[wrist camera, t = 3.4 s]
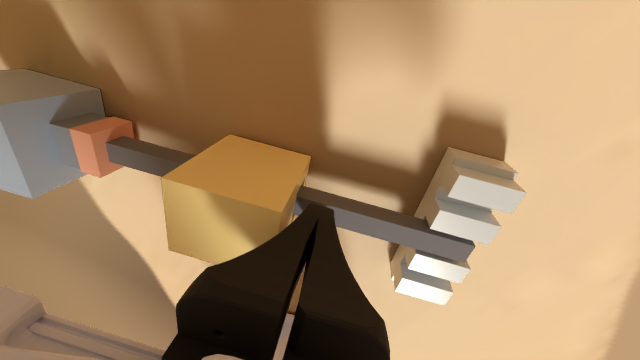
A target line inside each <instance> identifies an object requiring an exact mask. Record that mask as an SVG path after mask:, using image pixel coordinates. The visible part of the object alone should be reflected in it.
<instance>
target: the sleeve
mask: <svg viewBox="0 0 640 360" xmlns="http://www.w3.org/2000/svg"><path fill="white" fill-rule="evenodd" d="M310 160H311V156H308V155H304V154H300V153H297V152H293V151H289V150H286V149H282V148H278V147H275V146H271V145H267V144H264V143H260V142H256V141H253V140H249V139H245V138H242V137H238V136H234V135H231V134H229V135H228V136H226V137H225V138H223V139H222V140H220V141H218V142H217V143H215V144H214V145H212V146H211V147H209V148H207V149H206V150H204V151H203V152H201V153H199V154H198V155H196V156H195V157H193V158H192V159H190V160H188V161H187V162H185V163H184V164H182V165H180V166H179V167H177V168H176V169H174V170H173V171H171V172H169V173H168V174H166V175H165V176H163V177H162V178H161V183H162V192H163V202H164V211H165V220H166V229H167V238H168V248H169V250H170V251H173V252H177V253H180V254H184V255H187V256H190V257H194V258H197V259H200V260H204V261H207V262H210V263H214V264H220V263H223V262H226V261H229V260H231V259H233V258H236V257H238V256H240V255H242V254H245V253H247V252H249V251H251V250H253V249H255V248H256V247H258V246H260V245H262V244H263V243H265V242H267V241H268V240H270V239H271V238H273V237H274V236H276V235H277V234H278V233H280V232H281V231H282V230H283V229H285V228H286V227H287V226H288V225H290V224H291V223H292V222H293V221H294V220H295V219H296V218H297V215H294V214H293V210H294V205H295V200H296V195H297V193H298V191H299V189H300V187H301V185H302V186H305V183H306V178H307V174H308V169H309V165H310Z"/></svg>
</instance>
